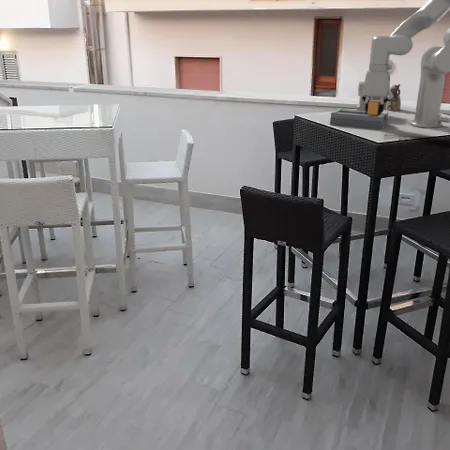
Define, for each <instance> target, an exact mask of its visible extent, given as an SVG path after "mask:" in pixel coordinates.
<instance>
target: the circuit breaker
mask: <svg viewBox="0 0 450 450" xmlns="http://www.w3.org/2000/svg"><path fill="white" fill-rule="evenodd" d="M364 82H365V81H359V83H358V87H357V94H359V93H360V91H361V90H362V89H363V88H364ZM364 96H365V95H364ZM358 97H359V98H358V99H359V100H358V103H357V104H356V107H355V108H356V110H359V111H365V104H366V103H365V102H364V100H363V99H362V98H361V97H360V96H358ZM365 97H367V96H365ZM387 97H388V95H387V96H386V97H385V99H386V98H387ZM371 100H380V97H372V96H371V97H370V100H369V101H371ZM388 101H390V99H389V100H388ZM386 104H387V102H385V103H384V108H383V111H387V110H386Z"/></svg>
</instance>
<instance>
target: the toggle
mask: <svg viewBox="0 0 450 450" xmlns="http://www.w3.org/2000/svg"><path fill="white" fill-rule="evenodd" d="M380 103H381V101H380V100H371V101H370V102H368V112H367V114H369V115H378V112H379V105H380Z"/></svg>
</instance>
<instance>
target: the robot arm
mask: <svg viewBox="0 0 450 450" xmlns="http://www.w3.org/2000/svg"><path fill="white" fill-rule="evenodd" d="M449 11H450V0H427V1H426V2H425V4H423V5H422V6H421V7H420V8H419V9H418V10H417V11H416V12H414V13H413V14H412V15H411V16H409V17H408V18H407V19H405V20H404V21H403V22H402V23H401V24H400V25H399V26H398V27H397V28H396V29H395V30H394V31H393V32H392V33H391V34H390V35H375V36H373V37H372V38H371V46H370V55H369V66H368V70H367V71H366V75H365V79H364V81H363V82H364V88H363V89H362V90H361V91H360V93H359V94H358V93H357V94H358V95H357V96H358V97H361V98H362V99H363V100H364V102H365V103H366V104H365V111H366V113H367V112H368V102H370V101H369V100H370V97H371V96H372V97H380V101H381V103H380V105H379V112H378V114H381V113H382V112H384V110H383V108H384V103H385V102H387V101H388V100H389V99H391V98H393V94H392V92H391V91H390V87H391V71H389V70H392V69H393V66H392V65H390V64H389V63H390V56H391V55H394V56H406V55H407V54H409V53H410V52H411V51H412V49H413V45H414V44H413V40H412V39H413V38H415V36H416V35H417V34H420V33H421V32H422V31H425V30H427V29H429V28H431V27H433V26H434V25H436V24H438V22H439V21H440V20H441V19H443V17H444V16H445V15H446V14H447V13H448V12H449ZM442 42H443V44H444V45H443V46H437V45H436V46H432V47H429V48H427V49H426V50H425V51H424V52H423V53H422V56H421V59H420V78H419V84H418V85H419V87H418V92H417V100H416V107H415V114H414V119H411V120H410V122H409V124H410V125H411V126H413V127H417V128H425V129H427V128H430V129H432V128H433V129H434V128H439V127H442V126H443V125H442V124H443V123H447V124H450V117H447V116H446V117H445V116H444V117H442V116H441V114H442V113H440V112H441V106H442V100H443V93H444V88H445V82H446V80H445V79H446V74H449V73H450V27H448V29H447V30H446V31H445V32H444V34H443V38H442ZM364 95H365V96H367V97H365V96H364ZM387 95H389V97H387V98H386V99H385V97H386V96H387Z"/></svg>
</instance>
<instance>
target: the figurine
mask: <svg viewBox="0 0 450 450" xmlns="http://www.w3.org/2000/svg"><path fill="white" fill-rule="evenodd" d="M400 87H401V84H400V83H399V84H392V85H391V86H390V91H391V92H392V94H393V98H391V99H390V101H387V104H386V110H385V111H390V112H398V111H400V110H401V106H402V104H401V103H402V102H401V89H400ZM388 97H389V95H388ZM397 110H398V111H397Z"/></svg>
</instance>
